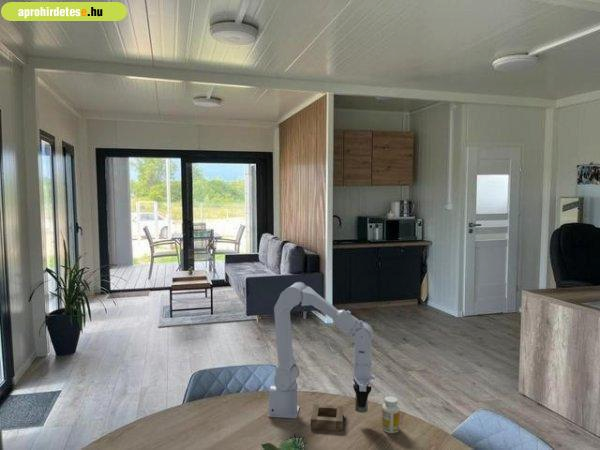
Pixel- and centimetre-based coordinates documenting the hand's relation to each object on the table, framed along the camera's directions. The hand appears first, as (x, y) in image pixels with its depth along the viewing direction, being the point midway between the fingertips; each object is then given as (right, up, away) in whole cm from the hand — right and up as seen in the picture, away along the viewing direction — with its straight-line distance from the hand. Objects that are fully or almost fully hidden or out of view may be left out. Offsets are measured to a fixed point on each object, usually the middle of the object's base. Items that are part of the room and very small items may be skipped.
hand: (361, 403), depth 137 cm
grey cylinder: (0, -2, 0) cm, 2 cm away
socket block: (-11, -7, +2) cm, 13 cm away
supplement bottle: (+9, -7, -3) cm, 12 cm away
